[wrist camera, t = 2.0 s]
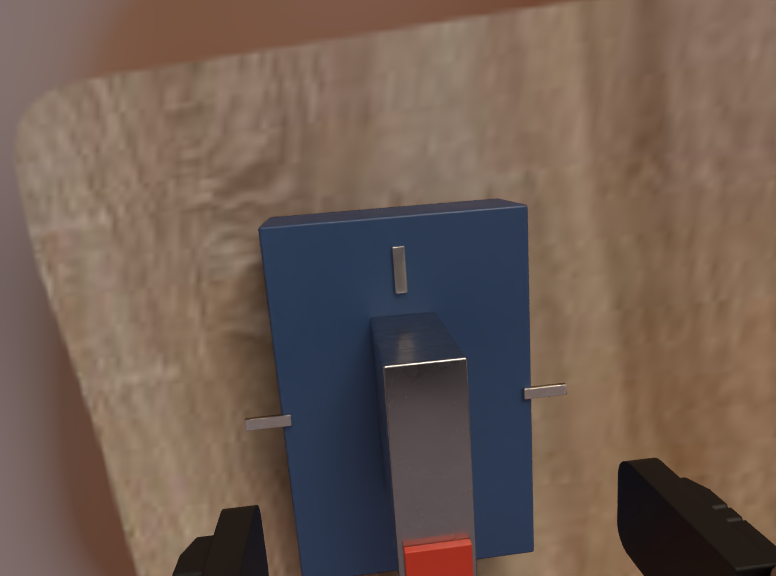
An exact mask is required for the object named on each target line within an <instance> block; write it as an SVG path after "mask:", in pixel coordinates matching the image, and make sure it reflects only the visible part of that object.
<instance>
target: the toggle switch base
mask: <svg viewBox="0 0 776 576" xmlns="http://www.w3.org/2000/svg"><path fill="white" fill-rule="evenodd" d="M258 231H259V239H260V247H261V255H262V263H263V271H264V279H265V287H266V295H267V303H268V310H269V318H270V326H271V334H272V342H273V350H274V358H275V366H276V374H277V382H278V390H279V398H280V406H281V414H279V415H270V416H261V417H252V418H245V426H246V431H248V430H257V429H266V428H275V427H283V430H284V438H285V445H286V453H287V461H288V469H289V477H290V485H291V493H292V501H293V509H294V517H295V525H296V533H297V541H298V549H299V557H300V565H301V573H302V576H357V575H365V574H372V573H379V572H387V571H394V570H397V563H396V557H395V551H394V545H393V539H392V533H391V527H390V521H389V515H388V509H387V503H386V497H385V488H384V476H383V464H382V452H381V440H380V429H379V417H378V405H377V393H376V381H375V369H374V357H373V345H372V334H371V322H370V320H371V318H377V317H387V316H398V315H408V314H418V313H428V312H435V313H436V314H437V316H438V317H439V319H440V320H441V322H442V323H443V324H444V326H445V327H446V329H447V330H448V332H449V333H450V334H451V336H452V337H453V339H454V340H455V342H456V343H457V344H458V346H459V347H460V349H461V350H462V352H463V353H464V355H465V356H466V357H467V364H468V386H469V409H470V431H471V453H472V475H473V498H474V520H475V542H476V559H483V558H490V557H498V556H505V555H512V554H520V553H527V552H533V550H534V536H533V482H532V427H531V399H532V398H541V397H550V396H559V395H566V394H567V390H566V384H565V383H558V384H549V385H540V386H531V373H530V319H529V264H528V210H527V205H525V204H520V203H516V202H511V201H507V200H502V199H486V200H474V201H462V202H450V203H438V204H426V205H414V206H402V207H390V208H378V209H366V210H354V211H341V212H329V213H317V214H305V215H293V216H281V217H271V218H269V219H268V220H267V221H266V222H265V223H264V224H262V225H261V226H260V227H259V229H258Z"/></svg>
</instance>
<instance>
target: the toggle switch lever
mask: <svg viewBox="0 0 776 576" xmlns="http://www.w3.org/2000/svg"><path fill="white" fill-rule="evenodd" d="M370 322H371V334H372V345H373V357H374V369H375V381H376V393H377V405H378V417H379V429H380V440H381V452H382V464H383V476H384V488H385V497H386V503H387V509H388V515H389V521H390V527H391V533H392V539H393V545H394V551H395V557H396V563H397V570H398V576H477V565H476V542H475V520H474V498H473V475H472V453H471V431H470V409H469V386H468V364H467V357H466V356H465V355H464V353H463V352H462V350H461V349H460V347H459V346H458V344H457V343H456V342H455V340H454V339H453V337H452V336H451V334H450V333H449V332H448V330H447V329H446V327H445V326H444V324H443V323H442V322H441V320H440V319H439V317H438V316H437V314H436V313H435V312H428V313H418V314H408V315H398V316H387V317H377V318H371V320H370Z"/></svg>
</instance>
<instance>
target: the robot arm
mask: <svg viewBox="0 0 776 576" xmlns="http://www.w3.org/2000/svg"><path fill="white" fill-rule="evenodd" d="M617 526H618V532H619V536H620V540H621V542H622V545H623V547H624V549H625V551H626V553H627V554H628V556H629V557H630V558H631V559H632V561H633V562H634V563H635V565H636V566H637V567H638V569H639V570H640V571H641V573H642V574H643V575H644V576H776V546H775V545H774V544H773V543H772V542H770V541H769V540H768V539H767V538H766V537H765V536H763V535H762V534H761V533H760V532H759V531H758V530H756V529H755V528H754V527H753V526H752V525H751V524H749V523H748V522H747V521H746V520H745V521H743V519H742V517H741V516H740V515H739V514H738V513H737V512H735V511H734V510H733V509H732V508H728V506H727V504H726V503H725V502H724V501H723V500H721V499H720V498H719V497H718V496H717V495H716V494H714V493H713V492H712V491H711V490H710V489H708V488H706V487H704V486H702V485H700V484H698V483H696V482H694V481H692V480H690V479H688V478H680V477H678V476H677V475H676V474H675V473H674V472H673V471H672V470H671V469H670V468H668V467H667V466H666V465H665V464H664V463H663V462H662V461H661V460H659V459H657V458H647V459H639V460H631V461H623V462H621V464H620V465H619V469H618V508H617ZM172 576H269V573H268V564H267V556H266V549H265V542H264V535H263V527H262V520H261V513H260V509H259V506H258V505H253V506H245V507H236V508H228V509H223V510H222V511H221V514H220V517H219V520H218V523H217V526H216V529H215V532H214V535H212V536H204V537H197V538H196V539H195V540H194V541H193V542H192V543H191V544H190V545H189V546H188V547H187V549H186V550H185V551H184V552H183V553H182V554H181V555H180V557H179V559H178V562H177V565H176V567H175V570H174V572H173V575H172Z"/></svg>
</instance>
